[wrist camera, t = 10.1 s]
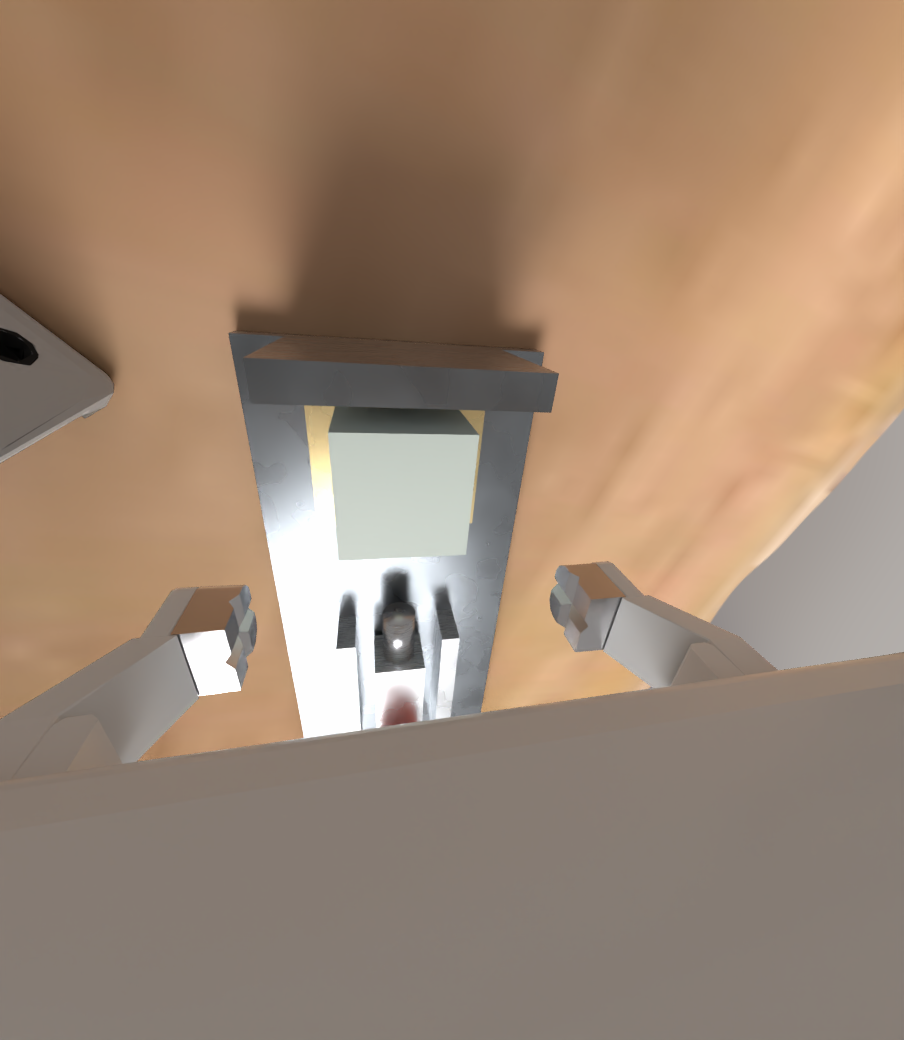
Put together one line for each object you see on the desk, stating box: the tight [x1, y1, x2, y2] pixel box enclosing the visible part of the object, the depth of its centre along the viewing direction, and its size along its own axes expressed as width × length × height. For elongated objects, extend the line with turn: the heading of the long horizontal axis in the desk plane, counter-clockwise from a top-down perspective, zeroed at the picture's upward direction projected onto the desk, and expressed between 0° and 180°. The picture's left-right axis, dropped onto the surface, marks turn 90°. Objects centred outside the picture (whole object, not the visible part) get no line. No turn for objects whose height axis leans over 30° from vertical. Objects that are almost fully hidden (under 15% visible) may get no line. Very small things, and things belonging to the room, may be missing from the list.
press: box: [229, 331, 559, 738], centre depth 21 cm, size 27×13×7 cm, turn 176°
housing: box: [328, 406, 479, 561], centre depth 17 cm, size 6×5×5 cm
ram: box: [374, 602, 425, 727], centre depth 22 cm, size 11×3×7 cm, turn 176°
